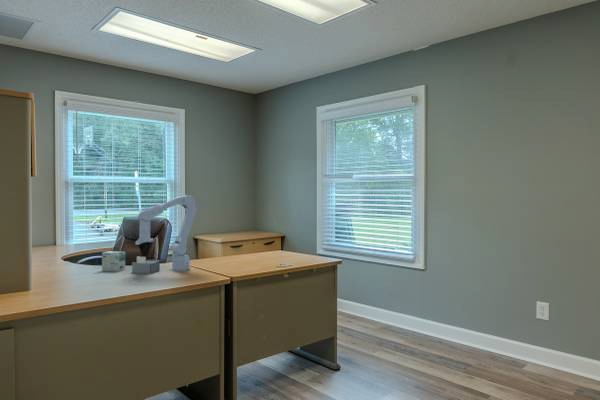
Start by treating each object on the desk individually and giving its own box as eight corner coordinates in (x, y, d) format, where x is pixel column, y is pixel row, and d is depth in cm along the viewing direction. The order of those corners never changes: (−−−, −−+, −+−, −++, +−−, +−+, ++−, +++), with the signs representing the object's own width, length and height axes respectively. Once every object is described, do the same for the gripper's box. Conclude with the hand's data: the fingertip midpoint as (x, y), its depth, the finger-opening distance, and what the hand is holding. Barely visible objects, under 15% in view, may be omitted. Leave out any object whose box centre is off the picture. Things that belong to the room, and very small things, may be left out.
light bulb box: (125, 269, 244) (125, 251, 244) (119, 272, 237) (119, 252, 237) (107, 269, 245) (108, 250, 245) (101, 271, 239) (101, 252, 238)
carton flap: (150, 273, 233) (150, 257, 232) (149, 273, 232) (149, 257, 232) (132, 272, 235) (133, 256, 235) (132, 272, 234) (132, 256, 234)
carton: (159, 271, 242) (159, 261, 242) (150, 274, 233) (150, 264, 233) (142, 270, 244) (142, 260, 244) (132, 273, 235) (133, 263, 235)
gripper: (145, 230, 244) (145, 253, 244) (130, 232, 230) (130, 257, 230) (156, 230, 242) (156, 254, 243) (142, 233, 228) (141, 258, 229)
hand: (144, 256), depth 236 cm, fingers closed
